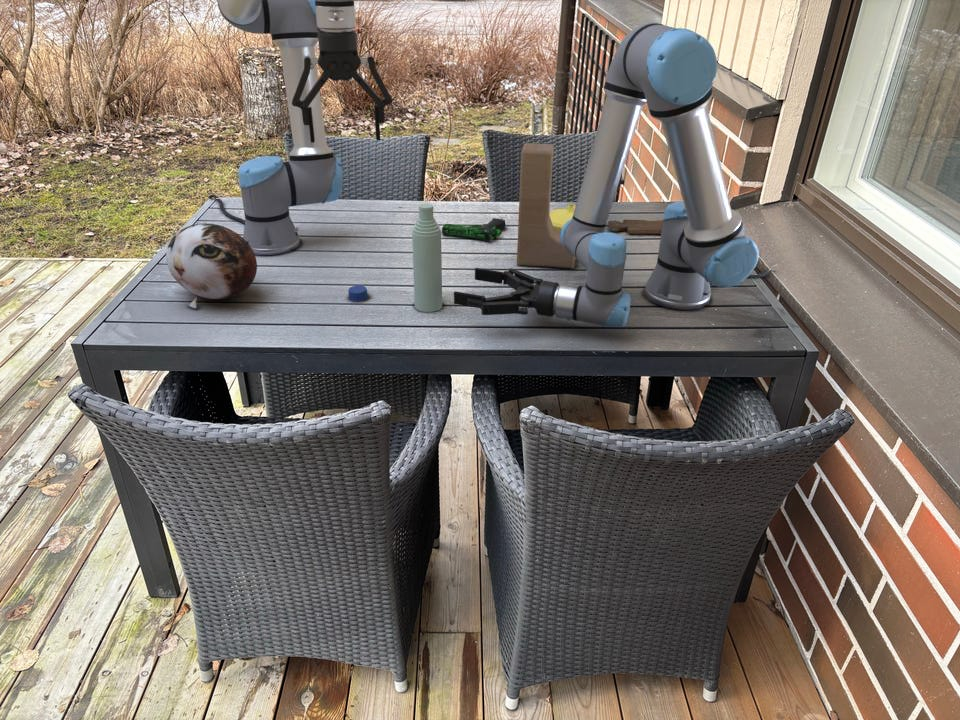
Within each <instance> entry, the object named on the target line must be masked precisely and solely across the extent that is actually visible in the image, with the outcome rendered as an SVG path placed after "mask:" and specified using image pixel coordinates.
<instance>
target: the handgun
mask: <svg viewBox="0 0 960 720" xmlns="http://www.w3.org/2000/svg"><path fill="white" fill-rule="evenodd" d="M505 228H506V220H505V219H503V218H497V217H492V219H491V220H490V221H489V222H488V223H483V224H482V225H479V224H472V225H459V224H453V223H445V224H443V226H442V227H441V235H446V236H454V237H462V238H469V239H470V238H471V239H474V240H479V241H484V242H491V241H492V240H494V239H495V238H497V237H500V236H502V230H504V229H505Z"/></svg>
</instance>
